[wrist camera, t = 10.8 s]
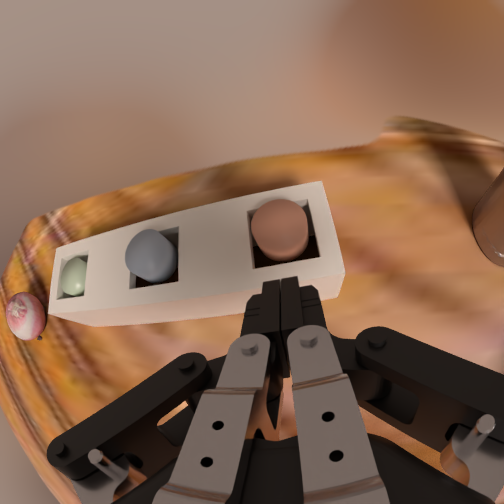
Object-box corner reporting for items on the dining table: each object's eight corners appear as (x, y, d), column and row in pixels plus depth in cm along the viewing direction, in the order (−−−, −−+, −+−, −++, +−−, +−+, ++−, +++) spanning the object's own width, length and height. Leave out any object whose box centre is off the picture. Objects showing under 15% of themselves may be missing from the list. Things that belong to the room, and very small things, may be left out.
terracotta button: (303, 211, 22) (301, 194, 20) (312, 256, 20) (312, 243, 18) (255, 220, 23) (248, 205, 20) (261, 266, 21) (254, 254, 19)
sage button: (99, 262, 27) (85, 254, 25) (96, 297, 25) (81, 291, 23) (77, 268, 28) (63, 260, 25) (74, 300, 26) (58, 295, 24)
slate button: (178, 237, 24) (165, 224, 22) (178, 280, 22) (163, 270, 20) (142, 245, 25) (127, 234, 22) (140, 286, 23) (123, 277, 21)
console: (322, 225, 29) (321, 180, 22) (337, 297, 26) (345, 272, 18) (97, 270, 34) (56, 248, 27) (93, 326, 31) (48, 313, 23)
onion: (59, 316, 34) (28, 319, 27) (43, 348, 33) (15, 355, 26) (34, 282, 35) (5, 281, 28) (20, 315, 34) (-7, 317, 27)
